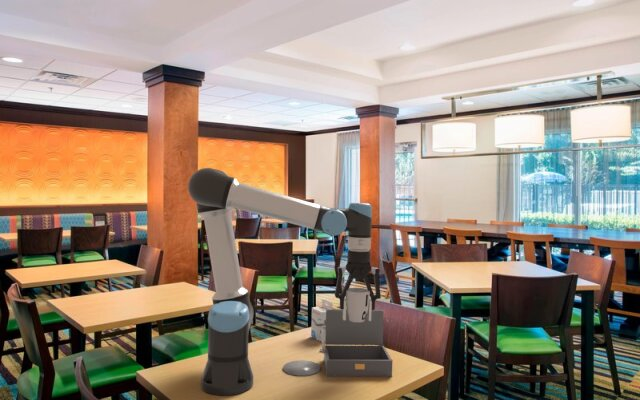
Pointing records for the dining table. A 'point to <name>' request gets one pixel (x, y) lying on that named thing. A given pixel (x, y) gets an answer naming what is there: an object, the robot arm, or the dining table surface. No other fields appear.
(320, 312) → the ink box
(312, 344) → the dining table surface
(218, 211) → the robot arm
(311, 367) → the slate coaster
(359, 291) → the cup
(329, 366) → the case
